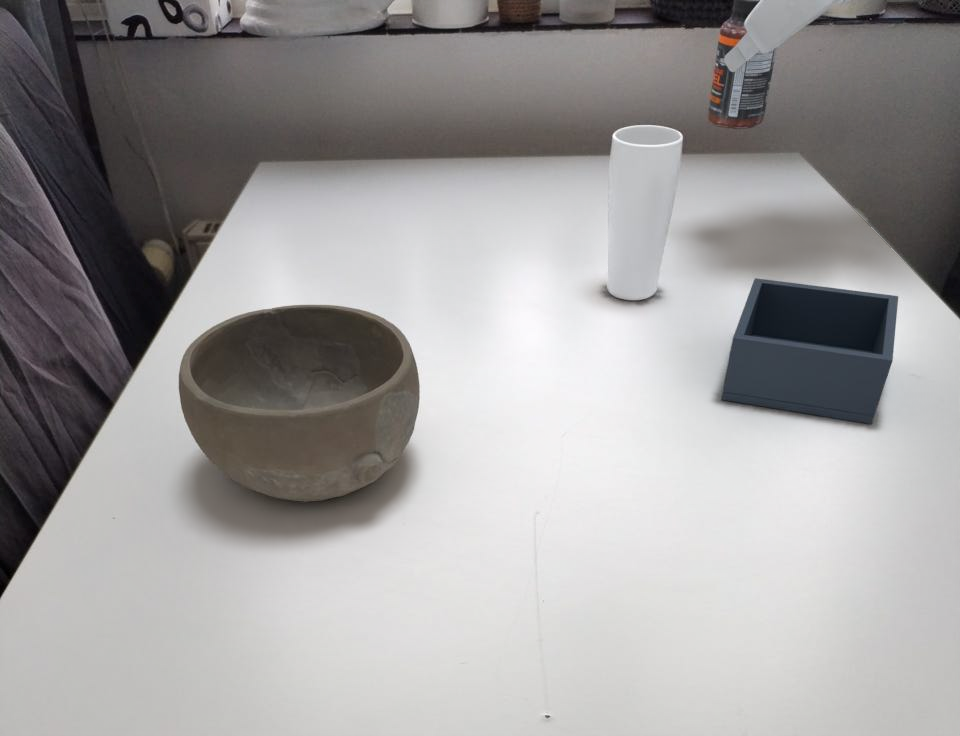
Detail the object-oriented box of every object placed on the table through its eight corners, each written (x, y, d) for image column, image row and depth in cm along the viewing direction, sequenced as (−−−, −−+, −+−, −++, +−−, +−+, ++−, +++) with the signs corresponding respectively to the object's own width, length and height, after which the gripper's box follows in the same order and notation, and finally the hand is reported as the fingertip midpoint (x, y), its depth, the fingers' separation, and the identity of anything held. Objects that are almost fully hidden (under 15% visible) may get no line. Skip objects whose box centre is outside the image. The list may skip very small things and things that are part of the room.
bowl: (437, 517, 67) (429, 397, 60) (196, 545, 65) (159, 424, 58) (412, 401, 79) (403, 290, 72) (208, 422, 77) (179, 310, 70)
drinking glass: (646, 274, 97) (664, 121, 87) (675, 299, 93) (697, 141, 82) (589, 284, 96) (600, 129, 85) (615, 309, 91) (630, 149, 81)
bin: (742, 337, 87) (754, 277, 82) (879, 356, 83) (898, 295, 79) (721, 400, 78) (732, 337, 74) (871, 424, 75) (892, 360, 71)
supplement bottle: (699, 116, 98) (717, -9, 90) (752, 114, 99) (773, -12, 91) (716, 132, 94) (735, 1, 86) (770, 129, 94) (795, -1, 86)
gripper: (866, -101, 88) (749, 12, 98) (820, -77, 75) (690, 50, 85) (899, -42, 89) (781, 63, 100) (859, -9, 77) (728, 108, 87)
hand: (739, 57), depth 92 cm, fingers closed on supplement bottle, 6 cm apart
